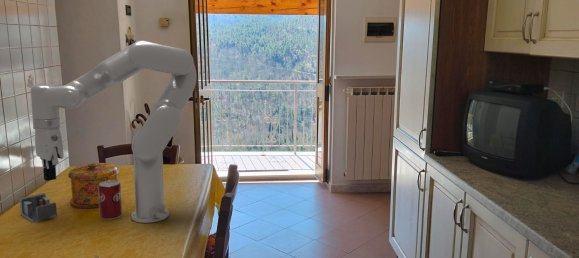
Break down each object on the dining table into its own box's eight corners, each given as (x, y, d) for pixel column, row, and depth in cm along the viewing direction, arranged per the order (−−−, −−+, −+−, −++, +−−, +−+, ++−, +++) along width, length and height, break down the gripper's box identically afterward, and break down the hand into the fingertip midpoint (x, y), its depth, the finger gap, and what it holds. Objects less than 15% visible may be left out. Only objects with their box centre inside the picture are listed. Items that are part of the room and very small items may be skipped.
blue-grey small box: (56, 214, 155) (55, 200, 154) (38, 219, 151) (37, 205, 150) (50, 210, 158) (49, 197, 157) (31, 215, 154) (30, 201, 153)
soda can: (98, 221, 154) (96, 187, 151) (101, 213, 160) (99, 180, 158) (121, 219, 155) (119, 185, 153) (123, 211, 162) (121, 179, 160)
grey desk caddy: (57, 215, 158) (56, 199, 156) (32, 222, 151) (31, 205, 150) (44, 208, 164) (43, 192, 163) (20, 215, 158) (19, 198, 157)
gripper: (69, 125, 142) (72, 182, 145) (48, 119, 151) (52, 172, 154) (44, 128, 136) (48, 187, 139) (24, 121, 145) (28, 177, 149)
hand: (50, 179), depth 147 cm, fingers closed
